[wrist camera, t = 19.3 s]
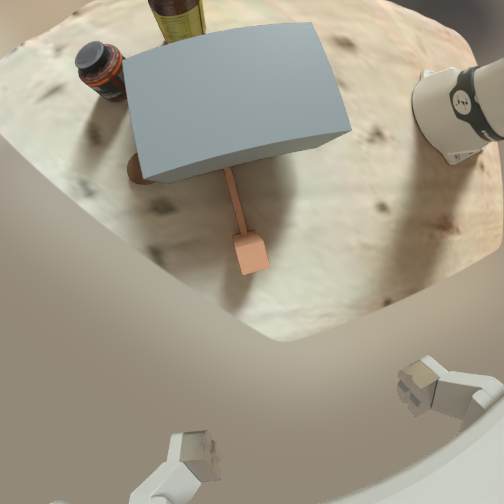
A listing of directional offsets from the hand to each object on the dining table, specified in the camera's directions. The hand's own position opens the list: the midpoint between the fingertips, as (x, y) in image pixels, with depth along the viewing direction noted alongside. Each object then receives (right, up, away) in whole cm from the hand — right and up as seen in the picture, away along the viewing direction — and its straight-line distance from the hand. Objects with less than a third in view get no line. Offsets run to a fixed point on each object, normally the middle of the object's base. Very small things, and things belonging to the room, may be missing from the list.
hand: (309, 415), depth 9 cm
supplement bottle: (-22, +31, +22) cm, 44 cm away
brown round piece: (-17, +18, +25) cm, 35 cm away
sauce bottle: (-12, +39, +21) cm, 46 cm away
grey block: (-5, +23, +25) cm, 34 cm away
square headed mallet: (-4, +12, +27) cm, 30 cm away
